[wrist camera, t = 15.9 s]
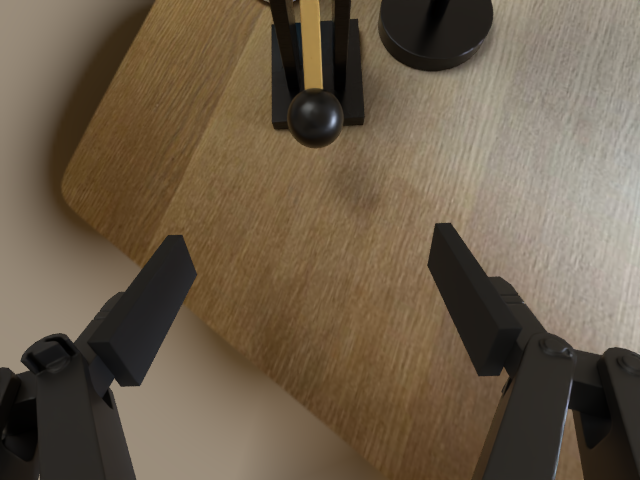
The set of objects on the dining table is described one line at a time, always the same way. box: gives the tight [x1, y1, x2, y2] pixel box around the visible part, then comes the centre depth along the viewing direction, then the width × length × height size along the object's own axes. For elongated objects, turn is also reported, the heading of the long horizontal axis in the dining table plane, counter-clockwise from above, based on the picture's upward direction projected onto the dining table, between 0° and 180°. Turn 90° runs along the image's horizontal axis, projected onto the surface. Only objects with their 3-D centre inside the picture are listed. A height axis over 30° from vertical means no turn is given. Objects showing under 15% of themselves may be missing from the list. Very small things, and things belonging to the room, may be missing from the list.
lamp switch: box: [287, 0, 344, 148], centre depth 18 cm, size 13×4×4 cm, turn 2°
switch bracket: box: [269, 0, 365, 129], centre depth 21 cm, size 10×8×14 cm
